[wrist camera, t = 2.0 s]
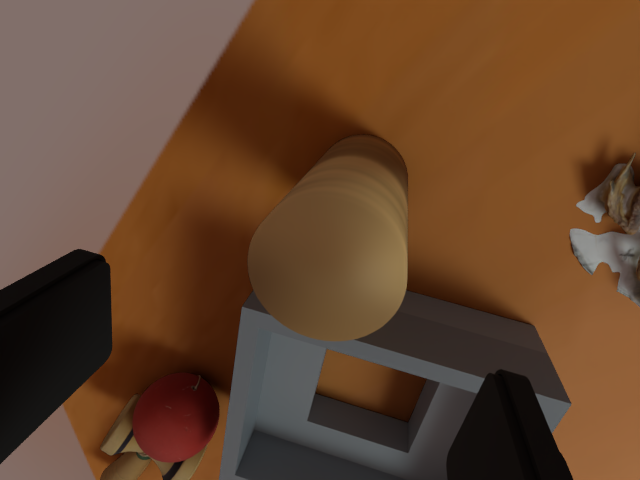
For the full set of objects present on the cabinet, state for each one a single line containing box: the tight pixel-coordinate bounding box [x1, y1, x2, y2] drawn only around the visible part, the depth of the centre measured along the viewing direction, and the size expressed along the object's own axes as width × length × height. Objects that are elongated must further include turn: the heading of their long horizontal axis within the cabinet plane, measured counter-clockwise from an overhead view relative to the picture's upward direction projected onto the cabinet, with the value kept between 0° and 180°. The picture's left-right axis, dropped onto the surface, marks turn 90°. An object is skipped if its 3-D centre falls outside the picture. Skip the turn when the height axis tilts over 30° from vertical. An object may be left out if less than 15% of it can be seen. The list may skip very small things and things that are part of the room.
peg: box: [247, 135, 408, 341], centre depth 17 cm, size 5×5×11 cm
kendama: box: [100, 373, 219, 480], centre depth 32 cm, size 8×6×18 cm
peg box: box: [219, 290, 571, 480], centre depth 25 cm, size 14×16×6 cm
